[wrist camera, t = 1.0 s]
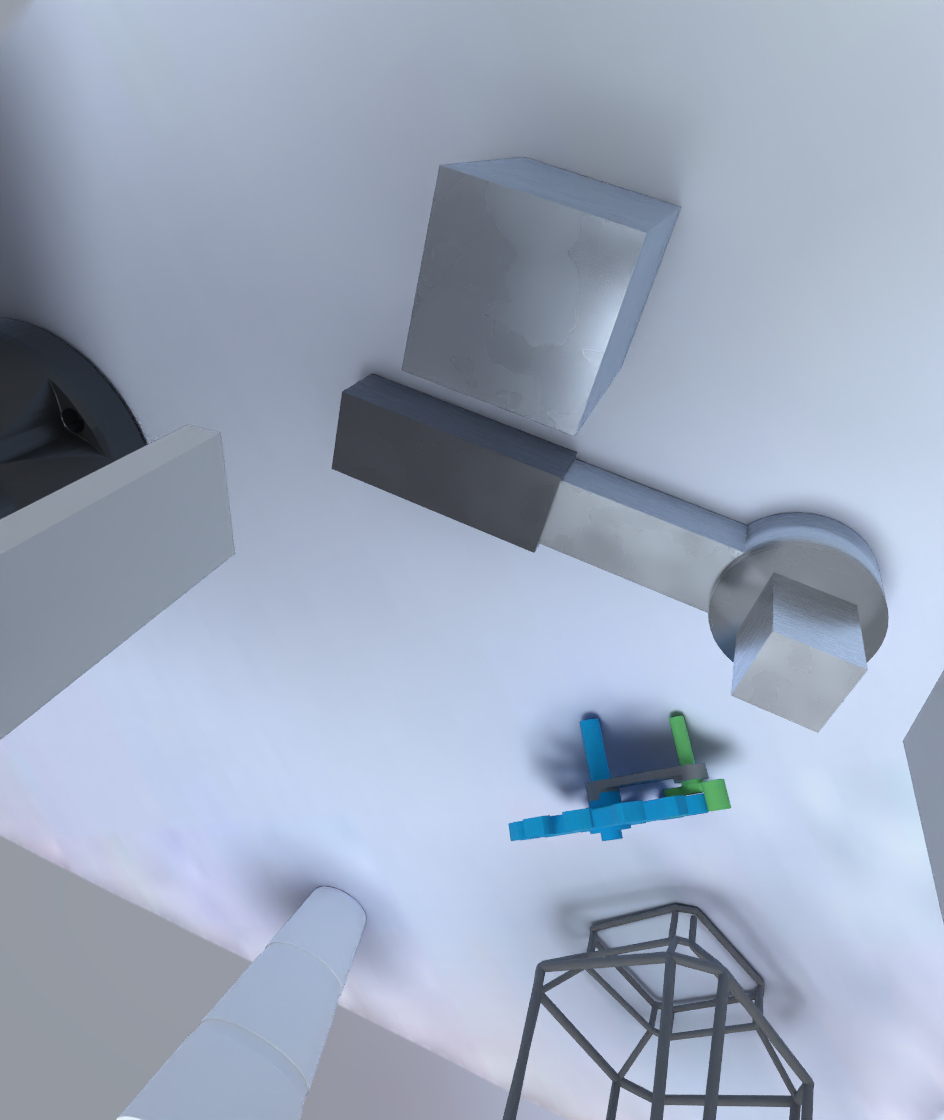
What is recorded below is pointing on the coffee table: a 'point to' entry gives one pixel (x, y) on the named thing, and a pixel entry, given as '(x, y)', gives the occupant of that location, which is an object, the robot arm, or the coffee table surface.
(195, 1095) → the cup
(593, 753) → the gear
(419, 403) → the ratchet
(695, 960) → the geometric lantern
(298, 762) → the coffee table surface
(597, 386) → the grey rectangular block
